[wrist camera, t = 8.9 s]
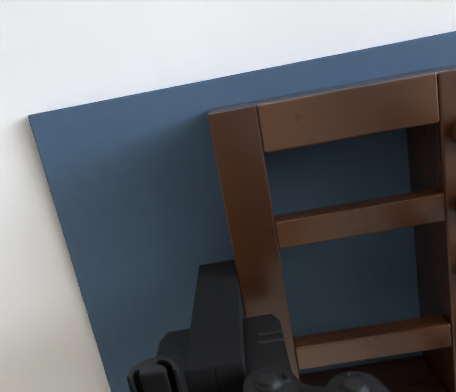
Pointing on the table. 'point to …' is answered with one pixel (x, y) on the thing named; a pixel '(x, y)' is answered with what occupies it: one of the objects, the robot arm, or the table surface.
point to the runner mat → (214, 206)
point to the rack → (350, 218)
